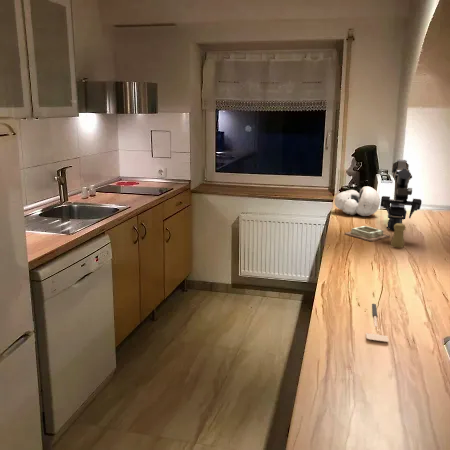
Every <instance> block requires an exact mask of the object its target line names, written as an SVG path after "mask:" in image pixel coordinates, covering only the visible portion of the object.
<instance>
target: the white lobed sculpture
mask: <svg viewBox="0 0 450 450" xmlns="http://www.w3.org/2000/svg"><path fill="white" fill-rule="evenodd" d="M334 205H335V207H336V208H337V209H339V210H342V212H343V213H345V214H346V215H350V216H354V215H356V214H357V215H359V216H362V217H368V216H371V215H374V214H375V213H377V211H378V210H379V207H380V206H381V197H380V195H379V193H378V191H377V190H376V189H375V188H373V186H372V187H371V186H368V185H367V186H363V187H362V188H361V189H360V190H359V192H358V191H357V190H355V189H348V190H345V191H341V192H339V193H337V194H336V196H335V197H334Z"/></svg>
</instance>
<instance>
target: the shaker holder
mask: <svg viewBox="0 0 450 450" xmlns="http://www.w3.org/2000/svg"><path fill="white" fill-rule="evenodd" d="M344 235H346V236H349V237H352V238H356V239H360V240H364V241H368V242H375V241H379V240H383V239H387V238H390V235H388V234H385V233H384V229H381V228H380V229H379V228H375V227H372V226H368V225H362V226H357V227H353V228H351V229H350V231H347V232H344Z"/></svg>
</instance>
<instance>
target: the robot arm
mask: <svg viewBox="0 0 450 450" xmlns="http://www.w3.org/2000/svg"><path fill="white" fill-rule="evenodd" d="M409 167H410V164H408V160H407V159H397V160H396V161H395V162H394V163H392V166H391V173H392V178H393V179H394V181H395V182H394V191H393V192H394V193H393V199H391V196H390V195H389V196H386V195H382V196H381V197H380V207H382V208H383V209H385V210H386V211H387V219H388V220H387V226H386V229H388V230H391V231H395V230H394V225H395V224H396V223H401V224H403V221H404V220H406V216H407V209H406V207H405V206H409V207H410V206H411V207H410V213H409V215H408V218H409V219H411V218H412V215H413V214H414V212H416V211H418V210H421V206H422V203H423V202H422V199H421V198H412V200H408V198H409V196H411V195H412V193H413V188H412V187H408V186H409V182H410V180H411V179H413V174H412V173H411V171H410V169H409Z"/></svg>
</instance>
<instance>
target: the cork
mask: <svg viewBox="0 0 450 450" xmlns="http://www.w3.org/2000/svg"><path fill="white" fill-rule="evenodd" d="M405 230H406V225H405V224H404V223H402V224H401V223H396V224H395V225H394V230H393V236H392V239H391V242H390V246H391V247H393V248H397V249H398V248H401V249H403V248H404V247H405V242H404V241H405V239H404V238H405V237H404V235H405V234H404V232H405Z"/></svg>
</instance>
